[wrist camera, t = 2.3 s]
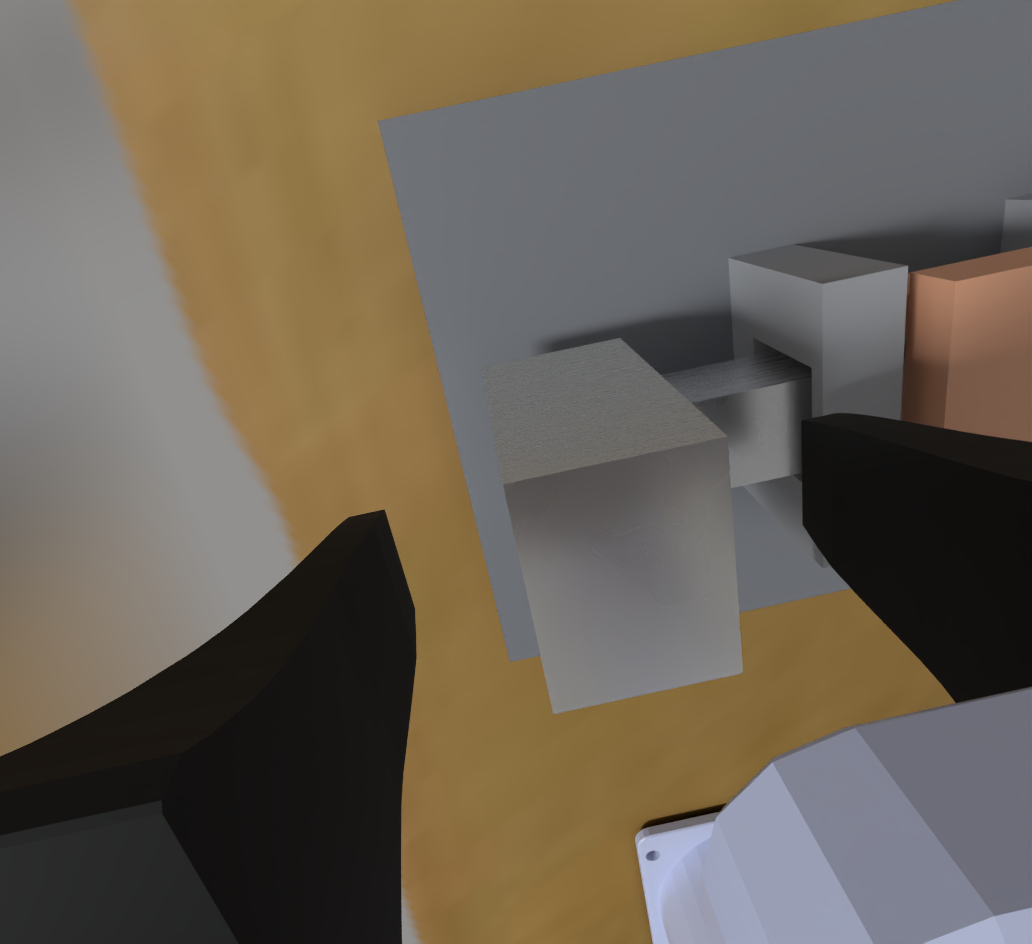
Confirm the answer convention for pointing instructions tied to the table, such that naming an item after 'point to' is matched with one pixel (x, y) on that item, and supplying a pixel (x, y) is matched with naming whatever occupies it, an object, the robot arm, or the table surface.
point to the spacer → (971, 346)
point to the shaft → (637, 507)
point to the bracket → (718, 232)
